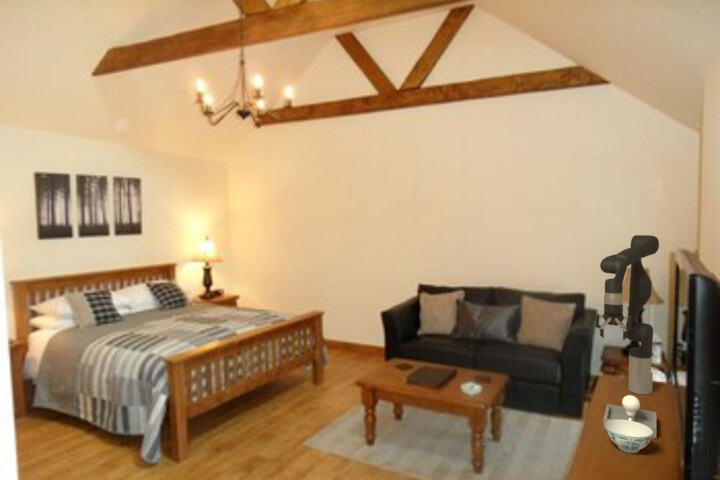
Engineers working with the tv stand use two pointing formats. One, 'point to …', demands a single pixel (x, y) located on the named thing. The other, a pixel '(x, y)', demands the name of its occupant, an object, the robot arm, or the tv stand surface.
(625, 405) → the lightbulb
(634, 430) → the chinaware
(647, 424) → the tray
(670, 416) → the tv stand surface
